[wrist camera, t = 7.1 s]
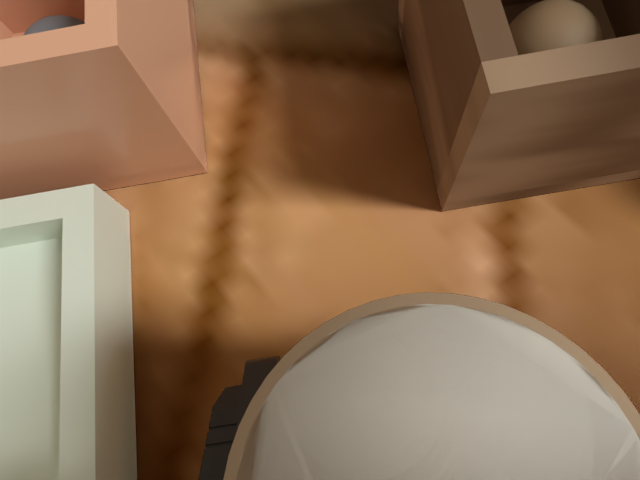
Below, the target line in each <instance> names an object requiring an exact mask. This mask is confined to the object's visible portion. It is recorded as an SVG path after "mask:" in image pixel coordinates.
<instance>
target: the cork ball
mask: <svg viewBox="0 0 640 480" xmlns="http://www.w3.org/2000/svg"><path fill="white" fill-rule="evenodd" d="M509 27H510V30H511V34H512V37H513V40H514V43H515V46H516V49H517V52H518V55H524V54H529V53H535V52H540V51H546V50H552V49H557V48H563V47H568V46H574V45H580V44H585V43H591V42H596V41H602V40H603V39H602V31H601V28H600V25H599V23H598V21H597V19H596V17H595V16H594V15H593V13H592V12H591V11H590V10H589V9H588V8H586V7H585V6H584V5H582V4H580V3H578V2H576V1H573V0H544V1H541V2H538V3H536V4H534V5H532V6H530V7H528V8H527V9H525V10H524V11H522V12H521V13H520V14H519V15H518V16H517V17H516V18H515V19H514V20H513V21H512V22H511V24H510V25H509Z"/></svg>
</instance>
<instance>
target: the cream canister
mask: <svg viewBox="0 0 640 480" xmlns="http://www.w3.org/2000/svg"><path fill="white" fill-rule="evenodd" d="M223 480H640V414H639V413H638V411H637V410H636V408H635V407H634V405H633V404H632V402H631V401H630V400H629V398H628V397H627V395H626V394H625V393H624V392H623V390H622V389H621V388H620V387H619V386H618V385H617V383H616V382H615V381H614V380H613V379H612V378H611V377H610V375H609V374H608V373H607V372H606V371H605V370H604V369H603V368H602V367H601V366H600V365H599V364H598V363H597V362H596V361H594V360H593V359H592V358H591V357H590V356H589V355H588V354H587V353H586V352H585V351H584V350H583V349H581V348H580V347H579V346H577V345H576V344H575V343H573V342H572V341H570V340H569V339H568V338H566V337H565V336H564V335H562V334H561V333H560V332H558V331H557V330H555V329H553V328H551V327H550V326H548V325H546V324H544V323H542V322H541V321H539V320H537V319H535V318H534V317H532V316H530V315H527V314H525V313H523V312H520V311H518V310H515V309H513V308H511V307H508V306H506V305H503V304H499V303H496V302H492V301H489V300H485V299H482V298H478V297H472V296H466V295H459V294H453V293H427V292H424V293H414V294H403V295H396V296H392V297H387V298H383V299H379V300H374V301H371V302H368V303H366V304H363V305H360V306H358V307H355V308H352V309H350V310H347V311H346V312H344V313H342V314H340V315H338V316H336V317H334V318H332V319H330V320H328V321H327V322H325V323H323V324H322V325H321V326H319V327H318V328H316V329H315V330H314V331H312V332H311V333H309V334H308V335H307V336H305V337H304V338H303V339H302V340H300V341H299V342H298V343H297V344H296V345H295V346H294V347H293V348H292V349H291V350H290V351H289V352H287V353H286V354H285V355H284V356H283V358H282V359H281V360H280V361H279V362H278V363H277V365H276V366H275V367H274V368H273V369H272V371H271V372H270V373H269V374H268V375H267V377H266V378H265V380H264V381H263V383H262V384H261V386H260V387H259V389H258V390H257V392H256V394H255V395H254V397H253V398H252V400H251V402H250V404H249V406H248V408H247V410H246V412H245V414H244V416H243V418H242V420H241V422H240V424H239V426H238V429H237V432H236V435H235V438H234V441H233V444H232V447H231V450H230V453H229V456H228V461H227V465H226V470H225V474H224V479H223Z"/></svg>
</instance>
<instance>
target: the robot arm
mask: <svg viewBox="0 0 640 480" xmlns="http://www.w3.org/2000/svg"><path fill="white" fill-rule="evenodd" d="M280 360H281V359H280V357H279V356H273V357H266V358H260V359H254V360H248V361H246V363H245V369H244V376H243V383H242V385H240V386H233V387H227V388H225V389H224V391H223V393H222V394H221V396H220V397H219V399H218V400H217V402H216V403H215V405H214V406H213V409H212V414H211V419H210V424H209V432H208V435H207V440H206V449H205V450H204V455H203V460H202V465H201V470H200V475H199V480H223V479H224V474H225V470H226V465H227V461H228V456H229V453H230V450H231V447H232V444H233V441H234V438H235V435H236V432H237V429H238V426H239V424H240V422H241V420H242V418H243V416H244V414H245V412H246V410H247V408H248V406H249V404H250V402H251V400H252V398H253V397H254V395H255V394H256V392H257V390H258V389H259V387H260V386H261V384H262V383H263V381H264V380H265V378H266V377H267V375H268V374H269V373H270V372H271V371H272V369H273V368H274V367H275V366H276V365H277V363H278V362H279V361H280Z"/></svg>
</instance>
